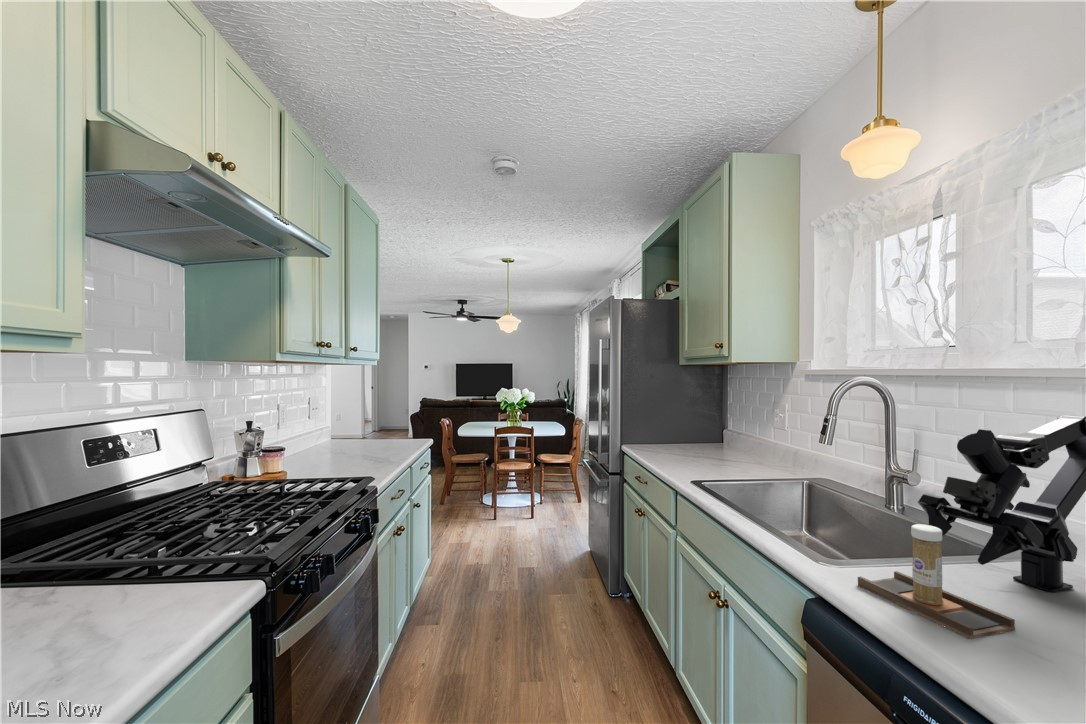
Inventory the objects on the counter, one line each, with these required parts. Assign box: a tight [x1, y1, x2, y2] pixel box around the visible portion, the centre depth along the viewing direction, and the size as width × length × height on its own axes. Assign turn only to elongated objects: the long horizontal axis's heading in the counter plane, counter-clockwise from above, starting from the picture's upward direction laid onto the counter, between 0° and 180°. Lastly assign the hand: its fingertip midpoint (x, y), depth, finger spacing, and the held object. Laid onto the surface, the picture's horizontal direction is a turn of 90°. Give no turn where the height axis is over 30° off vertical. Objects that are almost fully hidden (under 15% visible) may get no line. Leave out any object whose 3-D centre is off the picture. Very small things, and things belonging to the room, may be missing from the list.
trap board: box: [857, 570, 1016, 640], centre depth 93 cm, size 10×21×2 cm, turn 15°
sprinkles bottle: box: [910, 523, 943, 605], centre depth 93 cm, size 5×5×14 cm
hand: (953, 554), depth 95 cm, fingers open, 9 cm apart
